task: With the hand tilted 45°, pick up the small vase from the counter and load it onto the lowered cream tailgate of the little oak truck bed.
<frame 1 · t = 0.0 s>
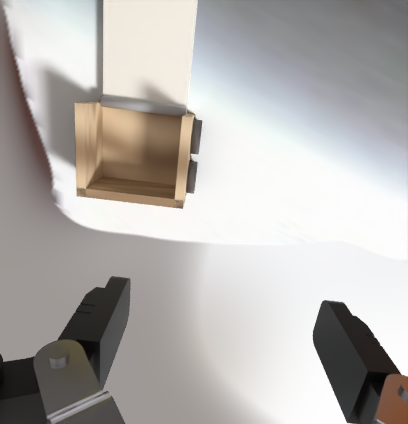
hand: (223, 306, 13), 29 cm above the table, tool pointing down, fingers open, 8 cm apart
tailgate: (149, 54, 36), on the table
truck bed: (144, 148, 40), on the table
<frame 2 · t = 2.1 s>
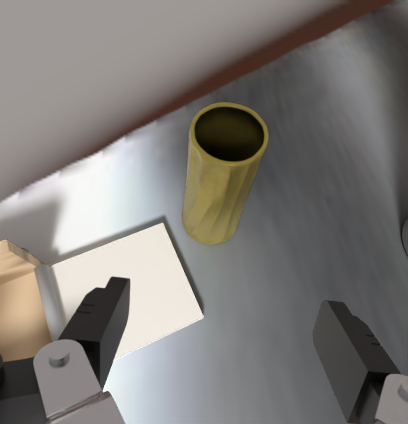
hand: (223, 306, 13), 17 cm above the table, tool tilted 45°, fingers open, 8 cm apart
tailgate: (123, 295, 29), on the table
vase: (210, 218, 33), on the table
truck bed: (0, 348, 27), on the table
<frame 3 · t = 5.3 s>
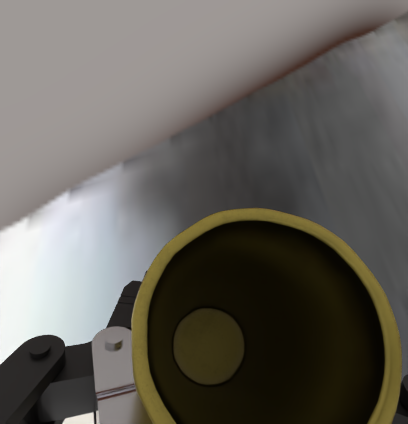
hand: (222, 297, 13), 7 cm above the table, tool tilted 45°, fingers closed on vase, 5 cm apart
vase: (207, 345, 19), on the table, touching gripper
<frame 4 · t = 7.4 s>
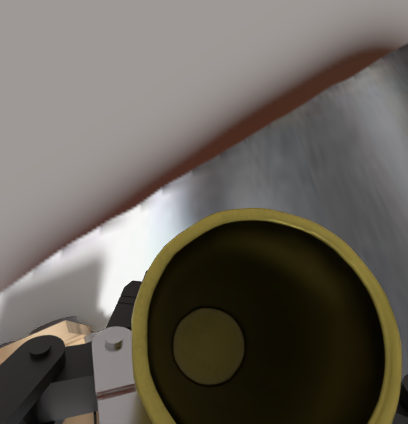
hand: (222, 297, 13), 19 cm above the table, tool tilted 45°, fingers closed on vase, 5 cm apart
vase: (207, 345, 19), point 12 cm above the table, touching gripper
truck bed: (53, 417, 27), on the table
when the fingers open (10 cm above the table, at t = 9.6 s): vase drops 2 cm, resting on tailgate.
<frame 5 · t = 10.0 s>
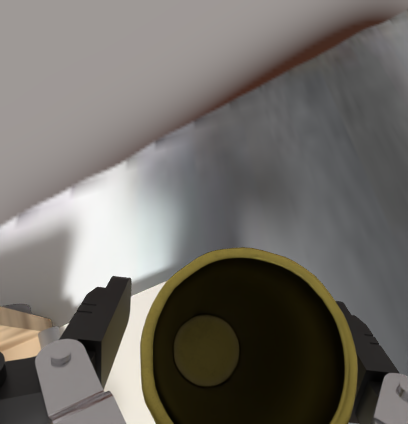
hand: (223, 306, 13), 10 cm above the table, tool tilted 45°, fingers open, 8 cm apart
tailgate: (163, 366, 21), on the table
vase: (205, 349, 20), point 1 cm above the table, touching tailgate
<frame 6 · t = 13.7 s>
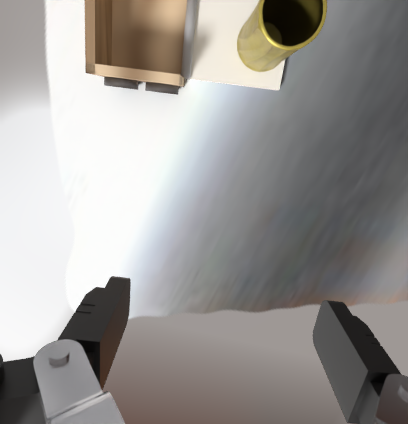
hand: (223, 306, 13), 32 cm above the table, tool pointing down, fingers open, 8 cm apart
tailgate: (237, 40, 38), on the table
vase: (262, 44, 37), point 1 cm above the table, touching tailgate
truck bed: (147, 28, 37), on the table
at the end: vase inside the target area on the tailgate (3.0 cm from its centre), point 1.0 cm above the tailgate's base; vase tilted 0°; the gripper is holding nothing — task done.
